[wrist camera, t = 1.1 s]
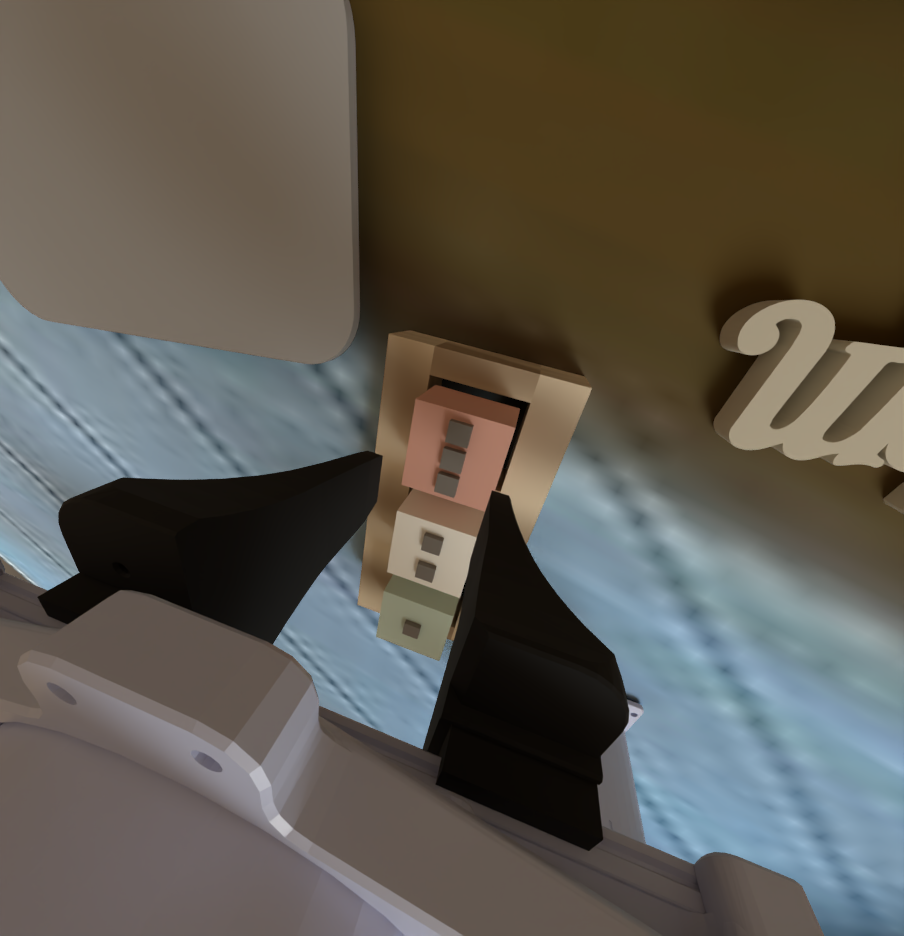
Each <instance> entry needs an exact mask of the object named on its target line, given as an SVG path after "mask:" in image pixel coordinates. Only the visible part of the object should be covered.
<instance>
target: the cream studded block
mask: <svg viewBox="0 0 904 936" xmlns="http://www.w3.org/2000/svg"><path fill="white" fill-rule="evenodd" d="M484 513H485V512H484V511H481V510H478V509H475V508H472V507H468V506H465V505H462V504H459V503H456V502H453V501H450V500H447V499H444V498H441V497H438V496H435V495H432V494H429V493H426V492H422V491H419V490H416V489H412V491H411V492H410V494H409V495H408V496H407V498H406V499H405V501H404V502H403V503H402V505H401V506H400V507H399V509H398V510H397V514H396V520H395V526H394V532H393V538H392V544H391V550H390V557H389V563H388V569H387V572H389V573H392V574H394V575H397V576H400V577H403V578H405V579H408V580H411V581H414V582H416V583H419V584H422V585H425V586H428V587H430V588H433V589H436V590H439V591H441V592H444V593H447V594H450V595H452V596H455V597H458V598H460V596H461V593H462V590H463V587H464V584H465V581H466V578H467V575H468V569H469V564H470V559H471V555H472V552H473V548H474V545H475V542H476V539H477V535H478V532H479V529H480V526H481V523H482V520H483V517H484Z"/></svg>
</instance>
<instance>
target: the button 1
mask: <svg viewBox="0 0 904 936" xmlns="http://www.w3.org/2000/svg"><path fill="white" fill-rule="evenodd" d="M458 600H459V598H458V597H455V596H452V595H450V594H447V593H444V592H441V591H439V590H436V589H433V588H430V587H428V586H425V585H422V584H419V583H416V582H414V581H411V580H408V579H405V578H403V577H400V576H397V575H394V574H393V576H392V577H391V579H390V581H389V583H388V584H387V586H386V588H385V590H384V593H383V599H382V605H381V611H380V617H379V623H378V629H377V635H376V637H378V638H381V639H384V640H386V641H389V642H391V643H394V644H396V645H399V646H402V647H404V648H407V649H409V650H412V651H415V652H417V653H420V654H422V655H425V656H427V657H430V658H433V659H435V660H438V661H439V660H440V657H441V654H442V651H443V648H444V645H445V642H446V639H447V636H448V633H449V630H450V627H451V624H452V620H453V617H454V614H455V611H456V607H457V604H458Z"/></svg>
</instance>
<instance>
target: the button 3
mask: <svg viewBox="0 0 904 936" xmlns="http://www.w3.org/2000/svg"><path fill="white" fill-rule="evenodd" d="M519 411H520V408H516V407H513V406H509V405H506V404H502V403H499V402H495V401H491V400H488V399H484V398H481V397H477V396H474V395H470V394H467V393H463V392H460V391H456V390H453V389H449V388H446V387H442V386H439V385H434V386H433V387H432V388H430V389H429V390H427V391H426V392H425V393H423V394H422V395H420V396H419V397H417V398H416V400H415V406H414V412H413V418H412V424H411V430H410V436H409V442H408V448H407V454H406V460H405V466H404V472H403V478H402V484H401V485H404V486H407V487H410V488H413V489H416V490H419V491H422V492H426V493H429V494H432V495H435V496H438V497H441V498H444V499H447V500H450V501H453V502H456V503H459V504H462V505H465V506H468V507H472V508H475V509H478V510H481V511H484V512H485V510H486V507H487V504H488V501H489V498H490V495H491V492H492V490H493V491H495V489H496V486H497V483H498V480H499V477H500V474H501V471H502V468H503V465H504V462H505V459H506V456H507V452H508V449H509V446H510V443H511V440H512V437H513V434H514V431H515V428H516V424H517V420H518V415H519Z"/></svg>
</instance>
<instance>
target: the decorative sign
mask: <svg viewBox="0 0 904 936" xmlns="http://www.w3.org/2000/svg"><path fill="white" fill-rule="evenodd" d="M834 332H835V321H834V318H833V316H832V314H831V312H830V311H829V310H828V309H827V308H825V307H824V306H822V305H821V304H819V303H816V302H813V301H808V300H771V301H762V302H758V303H755V304H752V305H749V306H747V307H745V308H743V309H741V310H739V311H738V312H736V313H735V314H734V315H732V316H731V317H730V318H729V319H728V320H727V321H726V323H725V324H724V326H723V328H722V330H721V333H720V344H721V346H722V347H723V348H724V349H726V350H729V351H733V352H737V353H742V354H746V355H759V354H760V355H759V356H758V357H757V359H756V360H755V362H754V363H753V365H752V366H751V367H750V369H749V370H748V372H747V373H746V375H745V376H744V377H743V379H742V380H741V382H740V383H739V385H738V386H737V387H736V389H735V390H734V392H733V393H732V394H731V396H730V397H729V399H728V400H727V402H726V403H725V404H724V406H723V407H722V409H721V410H720V412H719V413H718V414H717V416H716V417H715V419H714V423H713V425H714V430H715V432H716V433H717V434H719V435H720V436H721V437H723V438H724V439H725V440H727V441H728V442H729V443H731V444H732V445H734V446H735V447H737V448H740V449H745V450H758V449H763V448H767V447H770V446H771V447H773V448H774V449H776V450H778V451H779V452H781V453H783V454H784V455H786V456H787V457H789V458H791V459H795V460H809V459H814V458H817V457H820V458H822V459H824V460H826V461H828V462H830V463H831V464H833V465H837V466H842V465H852V464H864V465H869V466H872V467H875V468H876V467H880V466H882V465H883V464H885V465H888V466H890V467H892V468H894V469H896V470H899V471H901V472H904V348H899V347H892V346H884V345H877V344H869V343H862V342H854V341H845V340H836V339H832V338H833V336H834ZM883 500H884V503H886V504H887V505H889V506H891V507H892V508H894V509H896V510H898V511H899V512H901V513H903V514H904V482H903V483H902V484H901V485H899V486H898V487H897V488H896V489H894V490H893V491H892V492H891V493H889V494H888V495H887V496H886V497H885V498H884V499H883Z"/></svg>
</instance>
